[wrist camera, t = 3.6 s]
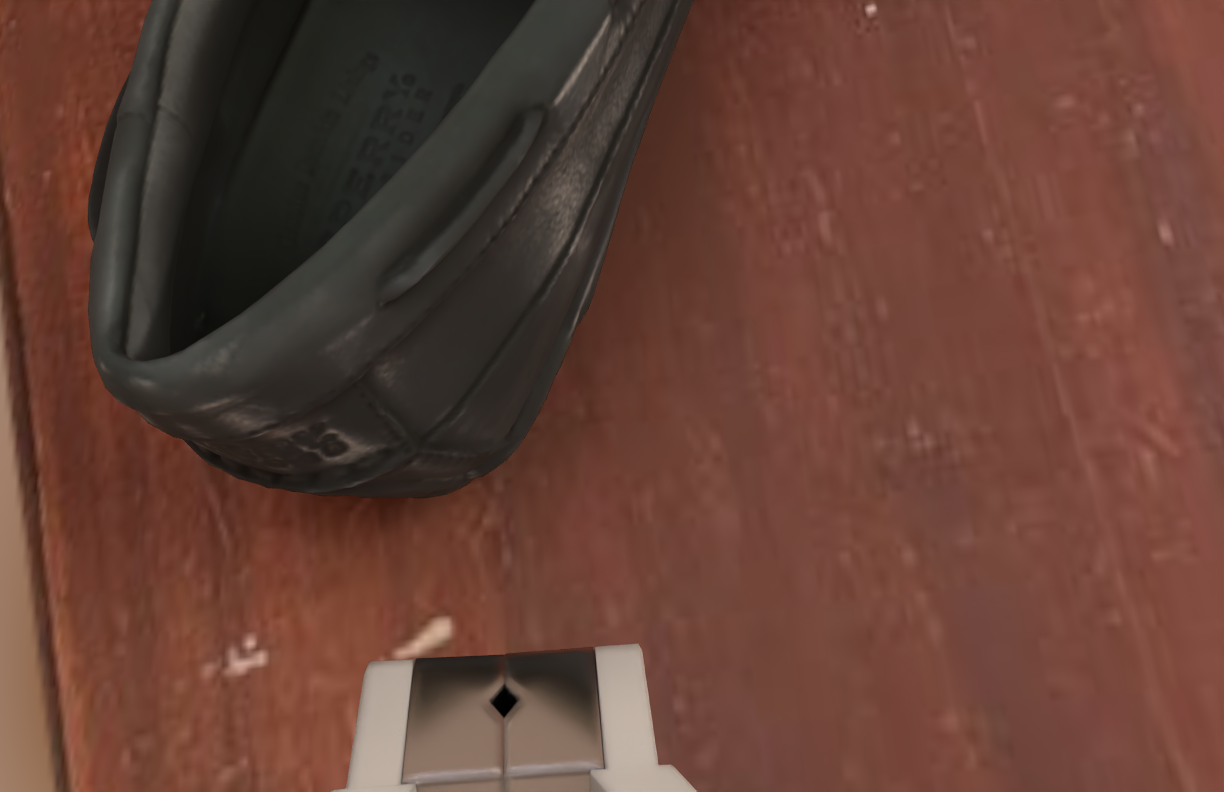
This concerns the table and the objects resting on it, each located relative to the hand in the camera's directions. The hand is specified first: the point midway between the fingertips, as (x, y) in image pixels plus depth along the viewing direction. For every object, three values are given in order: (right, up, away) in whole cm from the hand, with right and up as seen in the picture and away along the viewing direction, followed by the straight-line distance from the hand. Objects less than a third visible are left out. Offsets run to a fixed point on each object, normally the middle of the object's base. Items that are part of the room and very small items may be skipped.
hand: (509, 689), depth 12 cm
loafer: (0, +15, +14) cm, 20 cm away
